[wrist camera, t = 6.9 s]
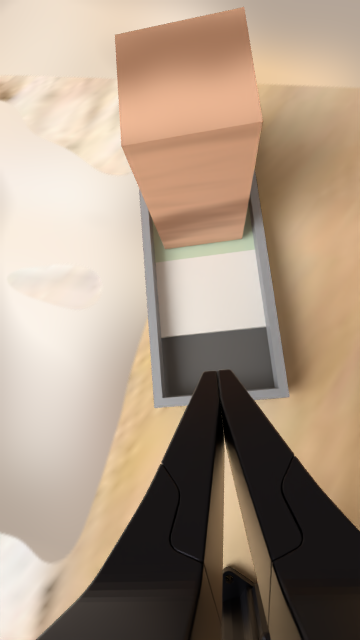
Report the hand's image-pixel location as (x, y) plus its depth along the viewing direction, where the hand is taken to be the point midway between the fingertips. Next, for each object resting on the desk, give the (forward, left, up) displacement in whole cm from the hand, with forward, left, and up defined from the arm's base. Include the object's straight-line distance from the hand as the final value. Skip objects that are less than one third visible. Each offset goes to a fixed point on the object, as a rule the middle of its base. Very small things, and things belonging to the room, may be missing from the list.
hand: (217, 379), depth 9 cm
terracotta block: (+11, +8, -13) cm, 19 cm away
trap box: (+8, +5, -13) cm, 16 cm away
